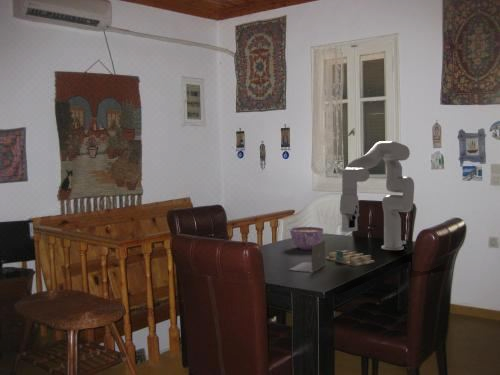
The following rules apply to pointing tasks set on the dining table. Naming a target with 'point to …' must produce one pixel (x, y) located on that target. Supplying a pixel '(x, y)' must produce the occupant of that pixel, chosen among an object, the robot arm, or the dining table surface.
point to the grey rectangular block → (347, 223)
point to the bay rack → (350, 258)
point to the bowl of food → (306, 237)
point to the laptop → (313, 259)
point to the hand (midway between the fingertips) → (349, 226)
